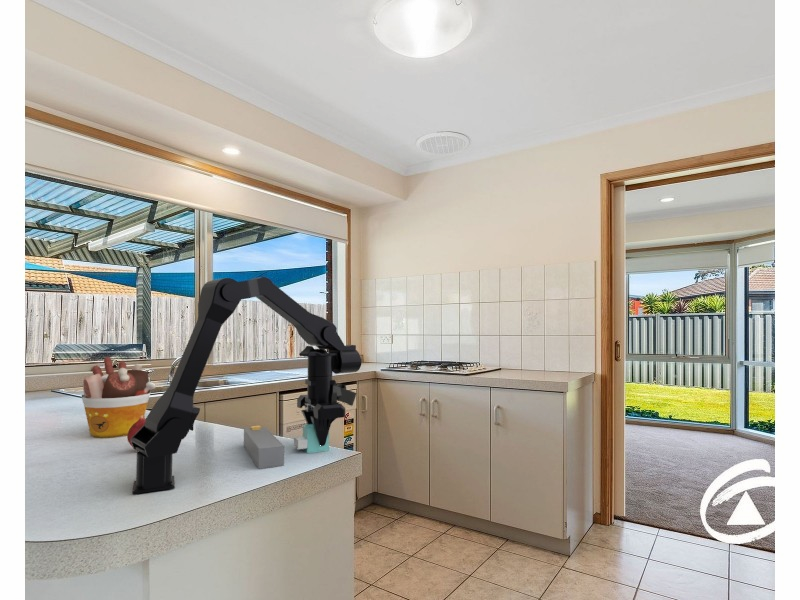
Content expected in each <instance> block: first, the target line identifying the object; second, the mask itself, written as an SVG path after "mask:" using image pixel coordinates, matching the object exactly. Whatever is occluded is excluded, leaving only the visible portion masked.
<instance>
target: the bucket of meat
mask: <svg viewBox="0 0 800 600" xmlns="http://www.w3.org/2000/svg"><path fill="white" fill-rule="evenodd" d="M103 364H104V369H105V373H106V374H104V373H103V371H102V369H101V367H100V366H99V365H94V366H92V369H91V371H92V374H93V375H92V374H91V376H90V375H89V376H86V377H84V378H83V380H82V389H83V394H82V395H81V399H82V400H81V401H82V403H83V407H84V412H85V416H86V420H87V425H88V430H89V433H90V435H92V436H93V437H94V438H101V439H105V438H106V439H108V438H110V439H111V438H118V437H119V438H120V437H125V436H126V437H127V435H128V431H129V429H130V428H131V426H132V425H133V424H134V423H136V422H137V421H138V420H139V419H140V416H142V415H143V416H145V415H146V411H147V407H148V403H149V399H150V397H151V390H155V388H156V387H157V386H156V384H155V383H153V382H151V381H149V372H148V371H145V370H142V368H143V365H142V364H140V363H136V364H134V365H133V367H132V368H131V369H128V370H127V363H126V362H125V361H124V360H122V361H120V362H118V364H117V365H118V369H117V371H114V366H113V362H112V358H111V357H110V356H105V357H104V359H103Z"/></svg>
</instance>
